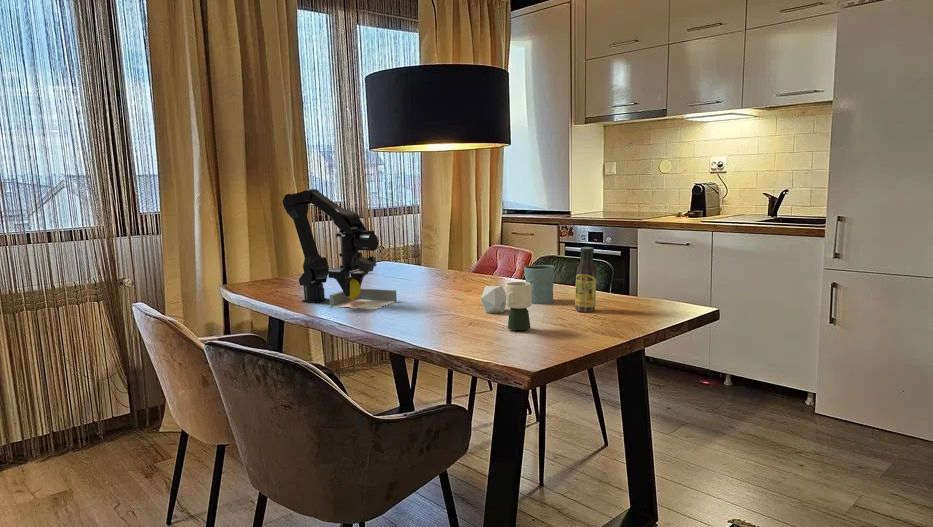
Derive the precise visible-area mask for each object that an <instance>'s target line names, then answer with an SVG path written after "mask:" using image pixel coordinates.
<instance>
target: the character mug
mask: <svg viewBox="0 0 933 527" xmlns="http://www.w3.org/2000/svg"><path fill="white" fill-rule="evenodd" d="M504 291H505V292H506V297H507V299H506V307H508V308H509V309H510V310H509V314H508V320H507V321H508V322H507V329H509V330H515V332H517V331H518V330H519V331H520V330H521V331H525V330H527V331H528V330H529V329H531V320H530V315H529V309H528V308H529V307H531V306H532V305H533V304H532V302H531V283H528V282H526V281H510V282H506V283H505V289H504Z"/></svg>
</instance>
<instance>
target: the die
mask: <svg viewBox="0 0 933 527" xmlns="http://www.w3.org/2000/svg"><path fill="white" fill-rule="evenodd" d="M480 297H481V298H480V303H481V305H482V307H483V309H484V311H485V313H486V314H499V313H504V311H505V309H506V307H507V305H506V299H507V297H506V292H505V289H504V287H503V286H502V285H496V286H495V285H493V286H491V285H489V286H486V285H485V286H484V290H483V292H482V294H481V296H480Z"/></svg>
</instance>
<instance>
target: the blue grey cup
mask: <svg viewBox="0 0 933 527" xmlns="http://www.w3.org/2000/svg"><path fill="white" fill-rule="evenodd" d="M523 271H524V278H525V282H528V283H531V302H532V304H531V305H548V304H552V303H553V302H554V282H555V281H554V280H555V278H554V277H555V266H554V265H551V264H533V265H526V266H524V267H523Z"/></svg>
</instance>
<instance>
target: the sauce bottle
mask: <svg viewBox="0 0 933 527" xmlns="http://www.w3.org/2000/svg"><path fill="white" fill-rule="evenodd" d="M594 251H595V248H594V247H592V246H590V247H589V246H583V247H580V251H579V252H580V262H579V264H578V266H577V268H576V275H575V293H574V294H575V298H574V305H575V308H574V309H575V311H577V312H580V313H592V312H594V311H595V310H596V309H595V308H596V298H597V297H596V296H597V268H596V266H595V264H594Z"/></svg>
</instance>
